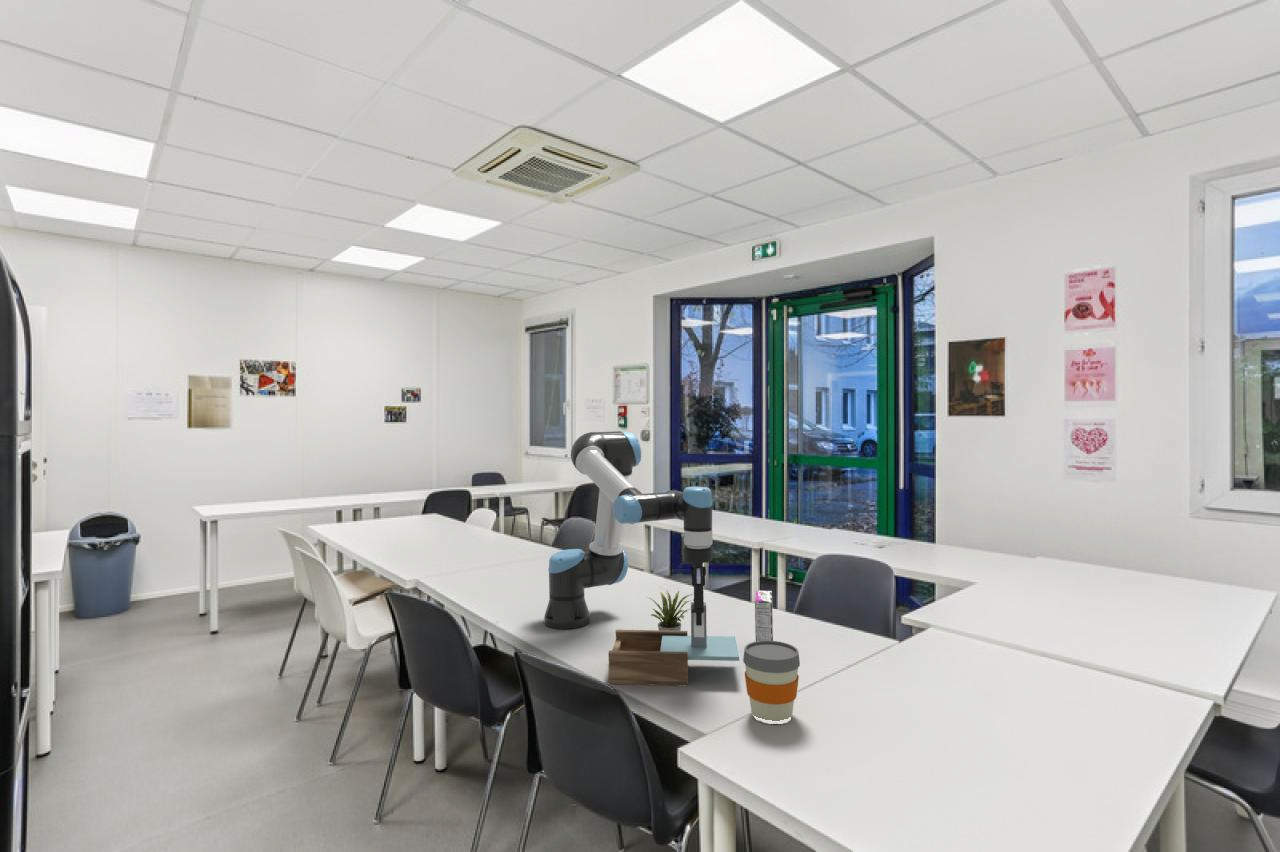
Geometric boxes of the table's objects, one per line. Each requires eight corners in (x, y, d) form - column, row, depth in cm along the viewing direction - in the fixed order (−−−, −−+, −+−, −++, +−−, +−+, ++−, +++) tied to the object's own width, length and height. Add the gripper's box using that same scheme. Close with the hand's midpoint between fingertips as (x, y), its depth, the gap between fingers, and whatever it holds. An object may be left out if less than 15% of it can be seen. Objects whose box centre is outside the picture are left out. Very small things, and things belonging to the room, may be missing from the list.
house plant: (707, 645, 188) (707, 590, 188) (677, 658, 178) (677, 600, 178) (670, 634, 198) (670, 582, 198) (640, 646, 188) (640, 591, 188)
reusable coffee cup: (789, 734, 135) (789, 664, 135) (734, 720, 142) (734, 653, 141) (807, 711, 146) (807, 646, 145) (755, 698, 152) (755, 636, 152)
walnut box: (616, 659, 178) (616, 629, 178) (687, 660, 177) (687, 630, 176) (608, 684, 161) (608, 652, 161) (687, 686, 159) (687, 653, 159)
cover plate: (662, 638, 176) (662, 595, 176) (735, 640, 174) (734, 596, 174) (659, 659, 161) (659, 612, 161) (739, 660, 159) (738, 613, 159)
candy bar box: (755, 644, 188) (755, 589, 188) (773, 645, 187) (772, 590, 187) (755, 658, 177) (754, 600, 177) (773, 660, 176) (772, 601, 176)
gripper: (684, 539, 176) (685, 624, 176) (683, 552, 159) (684, 644, 160) (711, 539, 175) (712, 624, 175) (713, 552, 159) (714, 645, 159)
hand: (698, 634), depth 167 cm, fingers closed on cover plate, 3 cm apart
